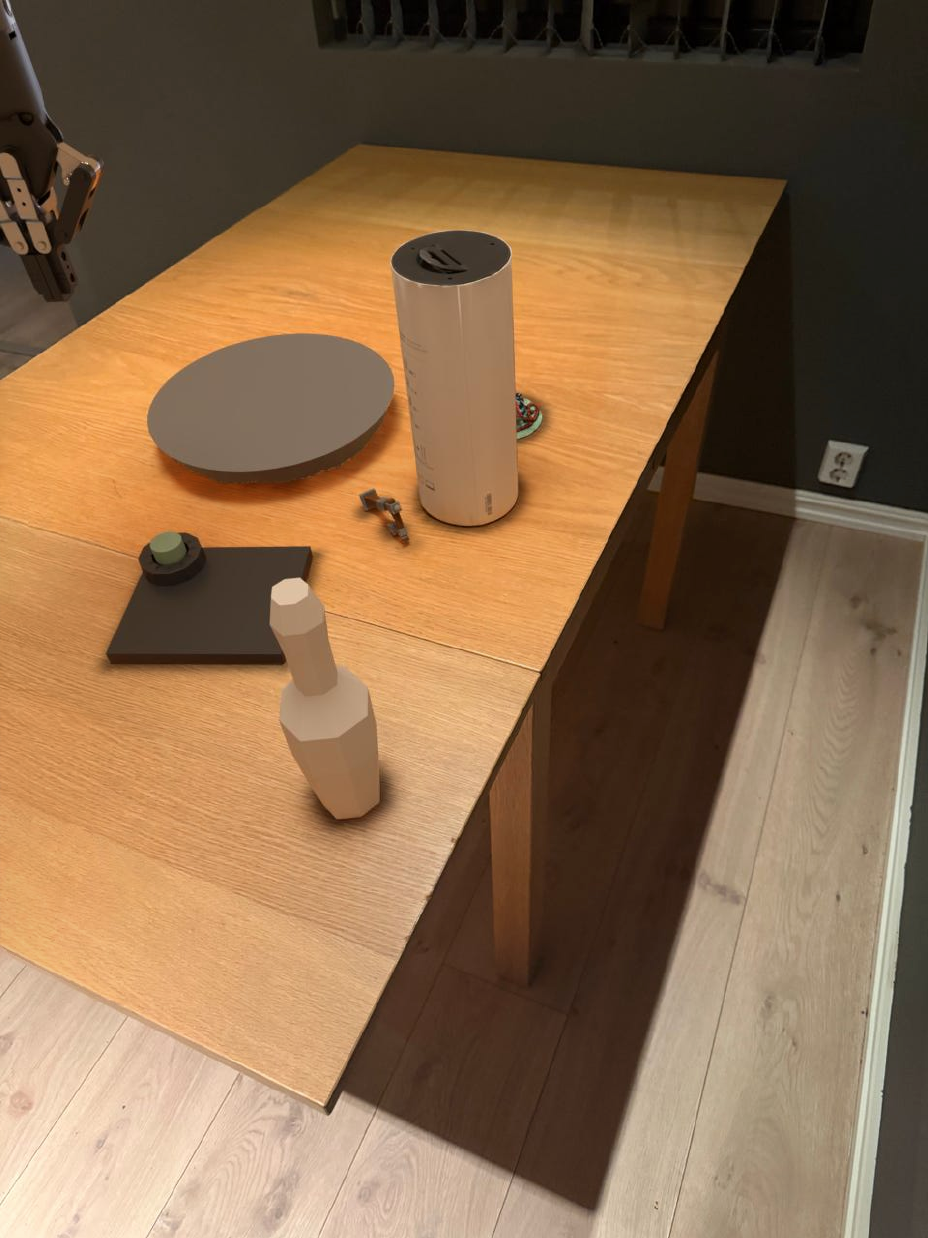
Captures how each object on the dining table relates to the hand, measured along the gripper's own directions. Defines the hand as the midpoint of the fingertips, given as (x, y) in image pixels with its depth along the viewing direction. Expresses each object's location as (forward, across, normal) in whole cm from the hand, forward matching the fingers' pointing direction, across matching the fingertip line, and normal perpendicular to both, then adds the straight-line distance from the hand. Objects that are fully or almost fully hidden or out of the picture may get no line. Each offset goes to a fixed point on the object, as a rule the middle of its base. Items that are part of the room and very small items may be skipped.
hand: (62, 296), depth 66 cm
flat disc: (+29, +5, +25) cm, 38 cm away
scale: (+29, +5, -4) cm, 30 cm away
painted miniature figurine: (+29, +31, +26) cm, 50 cm away
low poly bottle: (+29, +21, -24) cm, 43 cm away
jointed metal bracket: (+29, +20, +8) cm, 36 cm away
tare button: (+26, 0, 0) cm, 26 cm away
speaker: (+29, +28, +12) cm, 42 cm away
